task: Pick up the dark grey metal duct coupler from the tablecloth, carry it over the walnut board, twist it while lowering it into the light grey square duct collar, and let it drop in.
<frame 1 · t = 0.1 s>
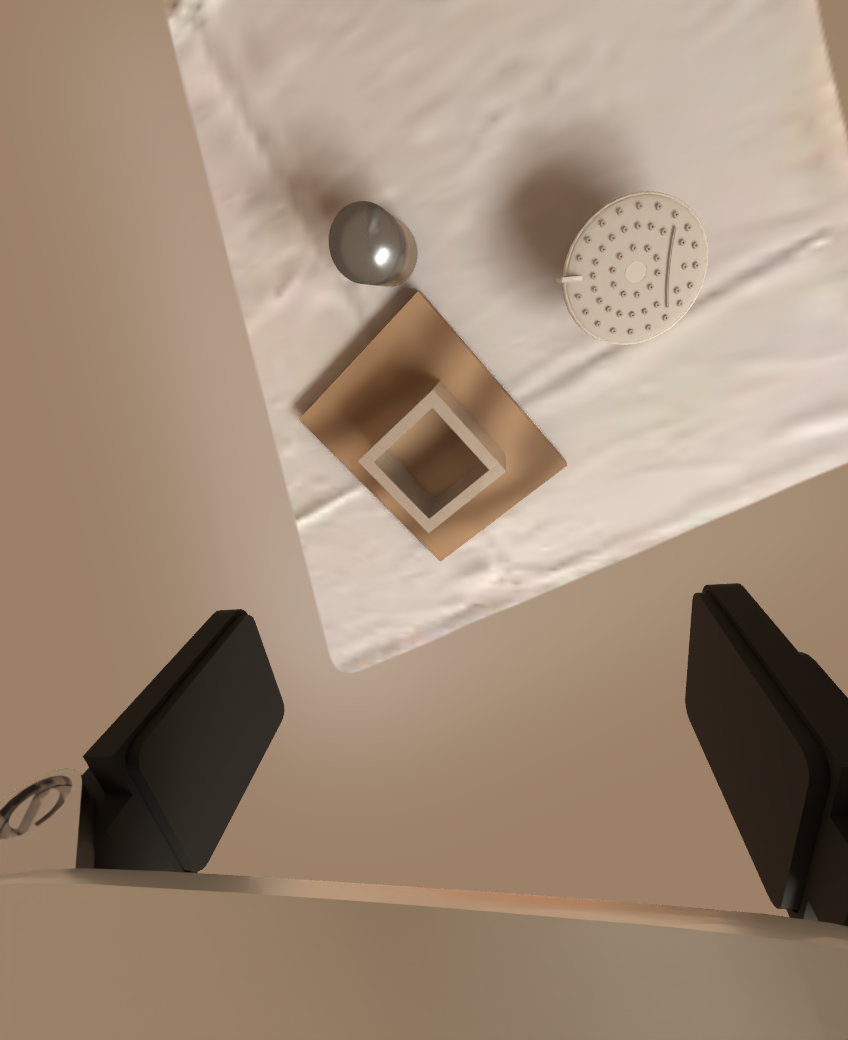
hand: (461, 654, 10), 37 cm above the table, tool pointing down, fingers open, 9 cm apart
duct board: (432, 437, 47), on the table
showerhead: (610, 276, 39), on the table
coupler: (388, 253, 41), on the table
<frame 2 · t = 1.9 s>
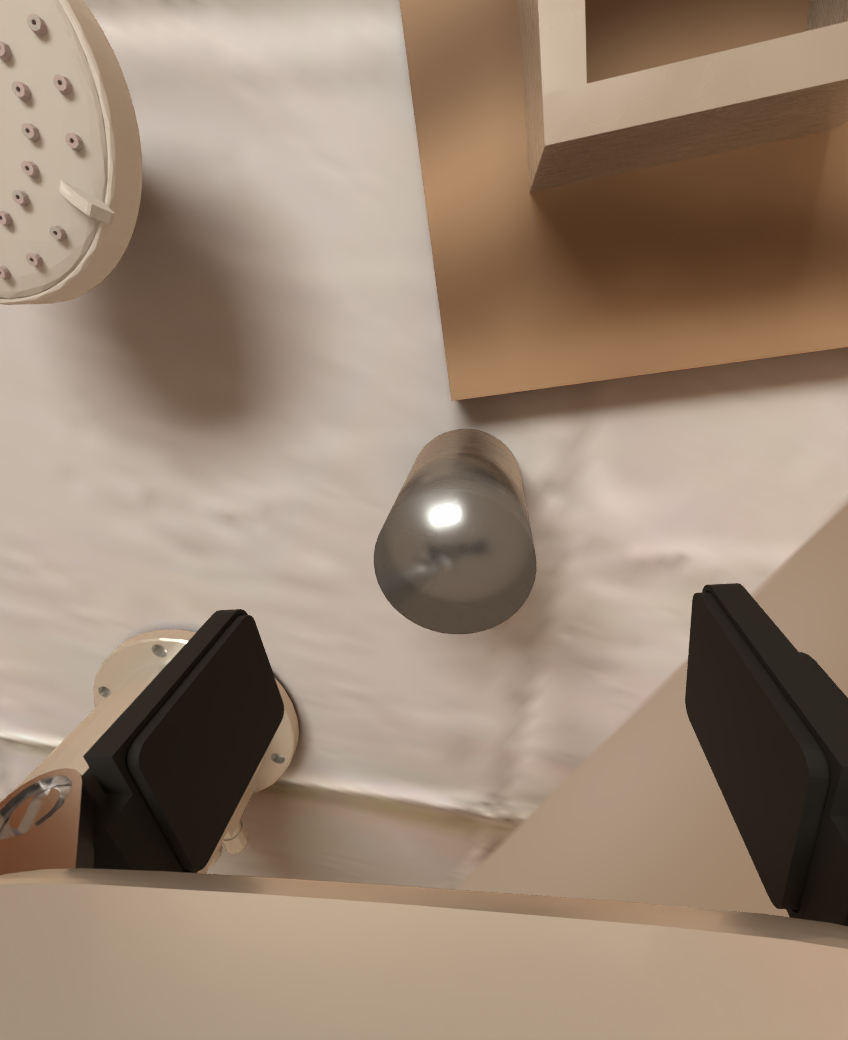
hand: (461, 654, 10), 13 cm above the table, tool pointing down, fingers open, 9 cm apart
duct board: (660, 45, 16), on the table
showerhead: (122, 180, 19), on the table
coupler: (465, 483, 22), on the table
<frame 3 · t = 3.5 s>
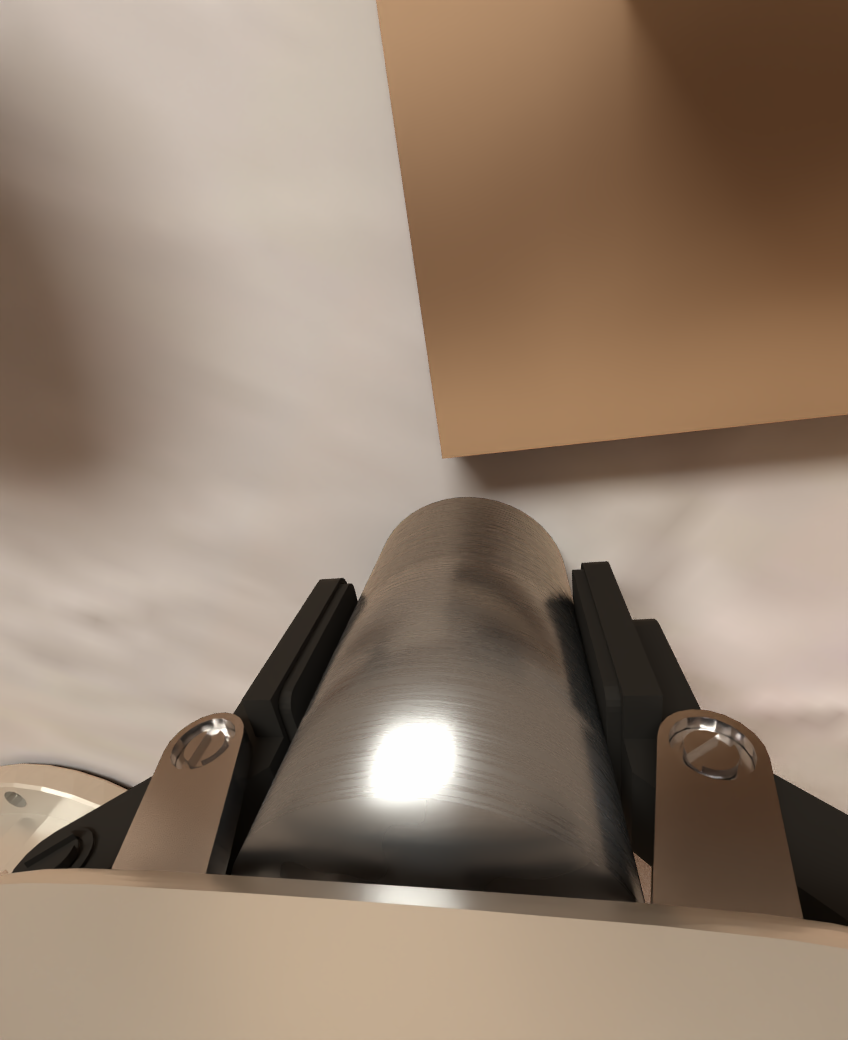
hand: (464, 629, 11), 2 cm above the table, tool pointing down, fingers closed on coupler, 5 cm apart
coupler: (469, 584, 13), on the table, touching gripper
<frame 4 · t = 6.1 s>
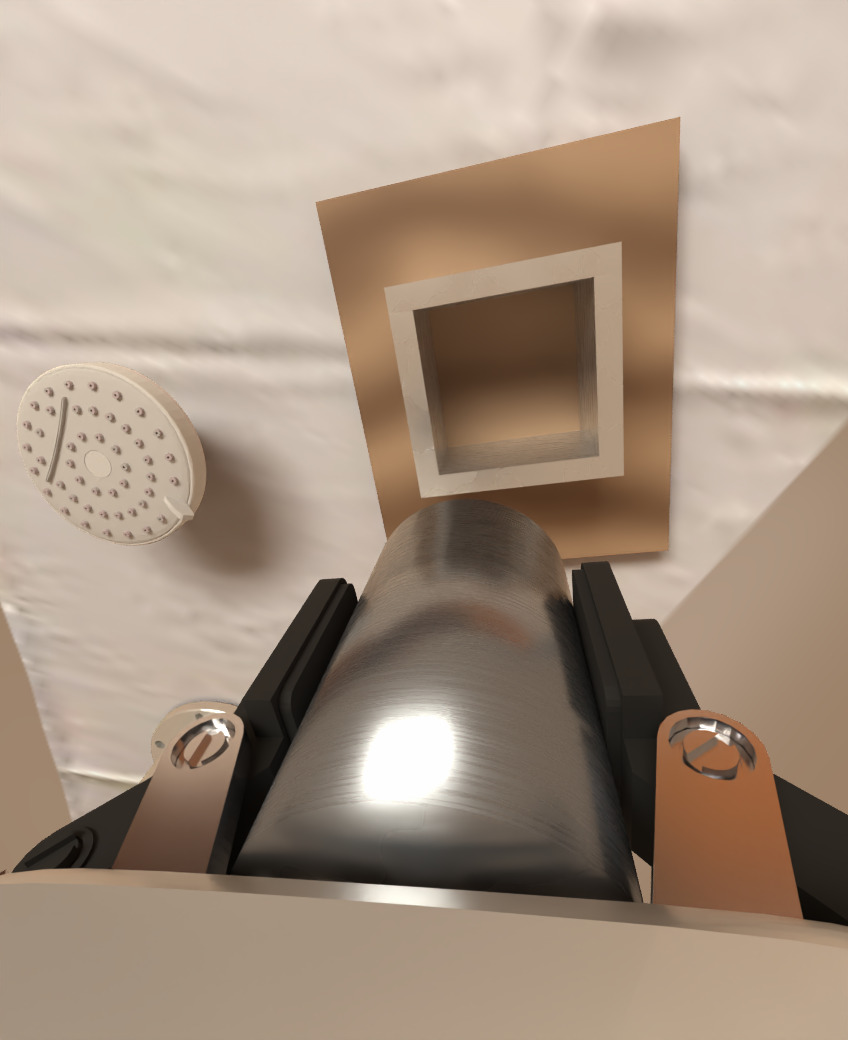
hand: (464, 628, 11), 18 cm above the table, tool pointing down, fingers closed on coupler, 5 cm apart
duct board: (506, 387, 26), on the table
showerhead: (183, 435, 30), on the table
coupler: (469, 585, 13), point 16 cm above the table, touching gripper
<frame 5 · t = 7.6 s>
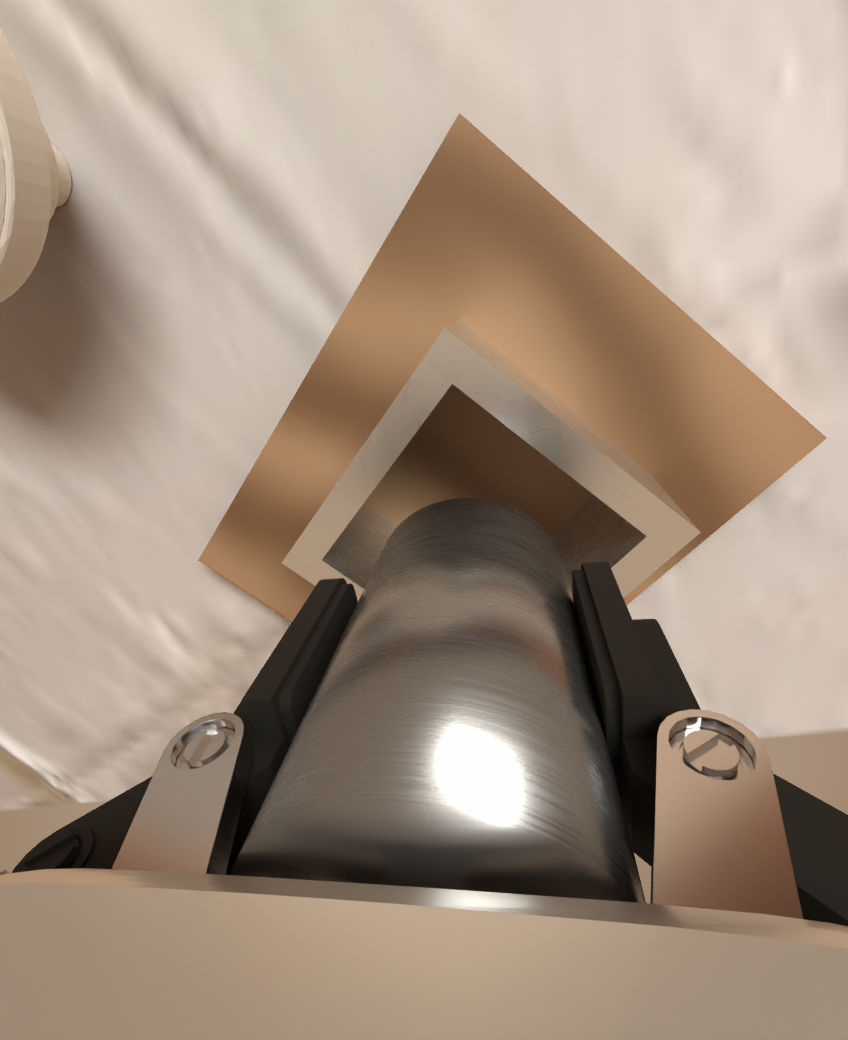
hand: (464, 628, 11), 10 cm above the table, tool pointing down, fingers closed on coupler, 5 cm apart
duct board: (466, 495, 21), on the table
showerhead: (53, 183, 18), on the table
coupler: (469, 584, 13), point 9 cm above the table, touching gripper
when the fingers open (8 cm above the table, at t = 8.9 s): coupler drops 4 cm, resting on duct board.
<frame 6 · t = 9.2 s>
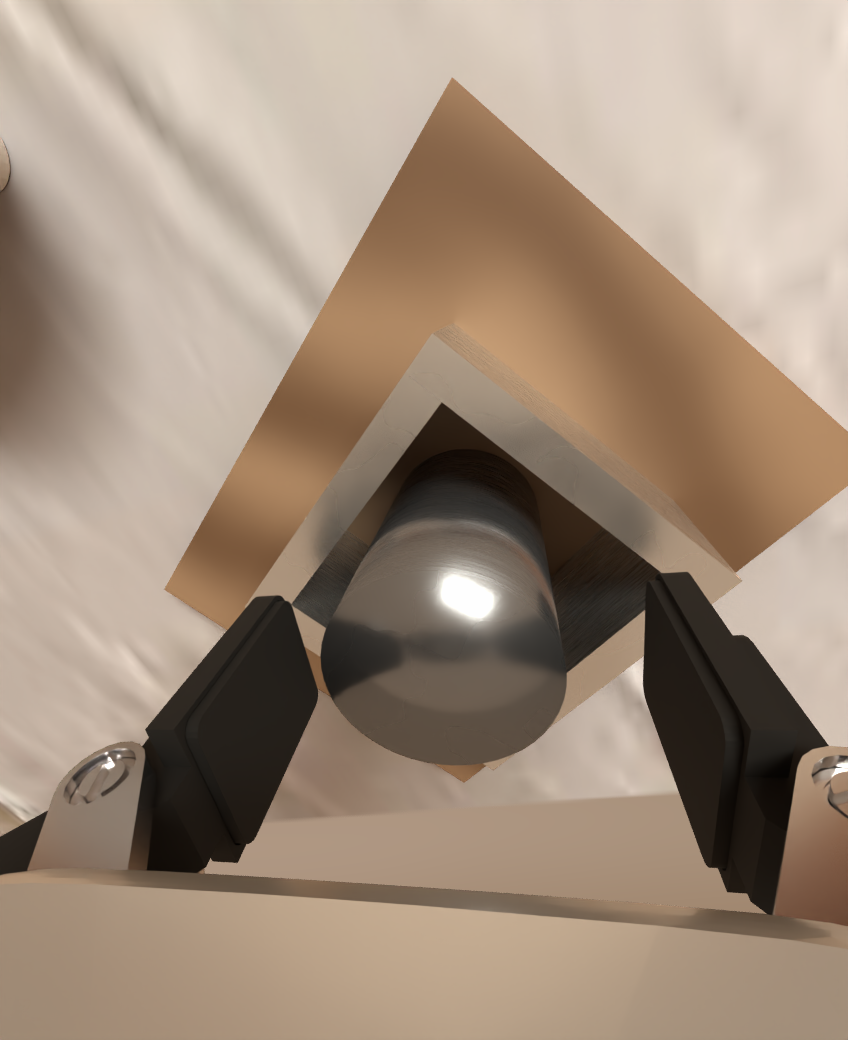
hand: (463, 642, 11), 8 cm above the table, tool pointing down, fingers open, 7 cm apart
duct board: (462, 519, 19), on the table
coupler: (465, 517, 17), point 1 cm above the table, touching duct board
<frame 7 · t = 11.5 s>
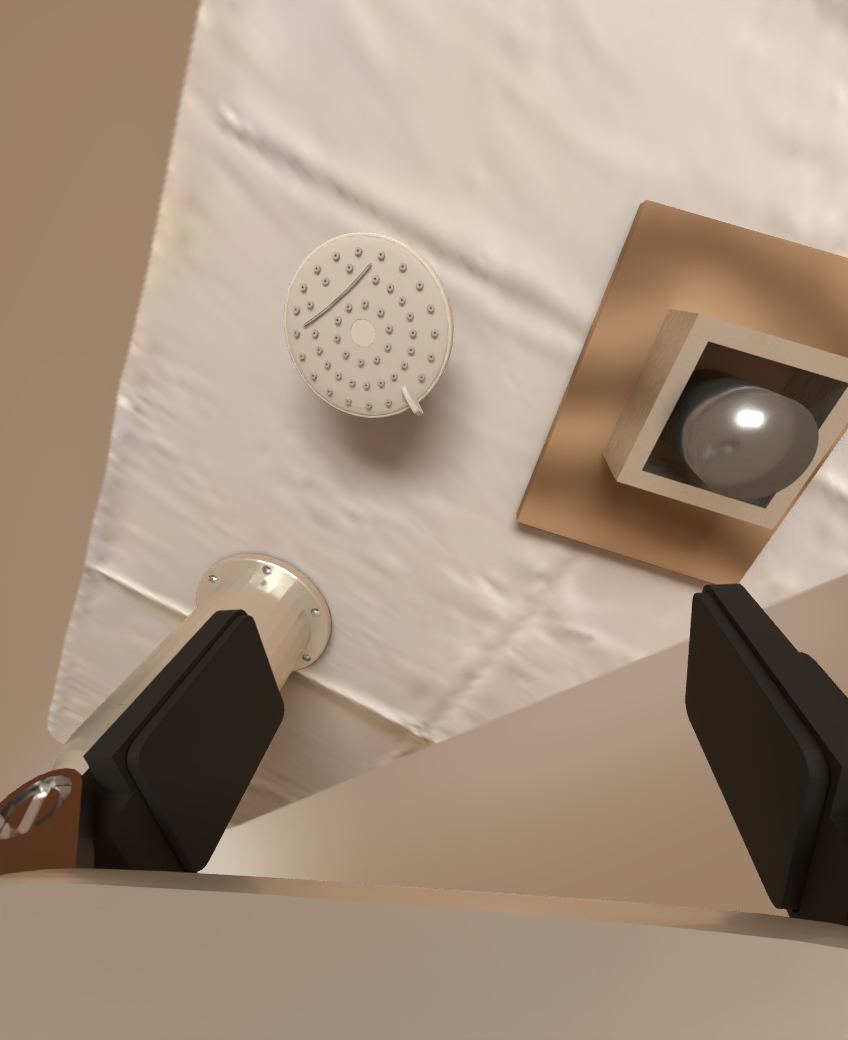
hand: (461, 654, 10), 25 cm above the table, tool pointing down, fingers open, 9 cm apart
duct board: (689, 417, 31), on the table
showerhead: (395, 327, 32), on the table
coupler: (698, 411, 30), point 2 cm above the table, touching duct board
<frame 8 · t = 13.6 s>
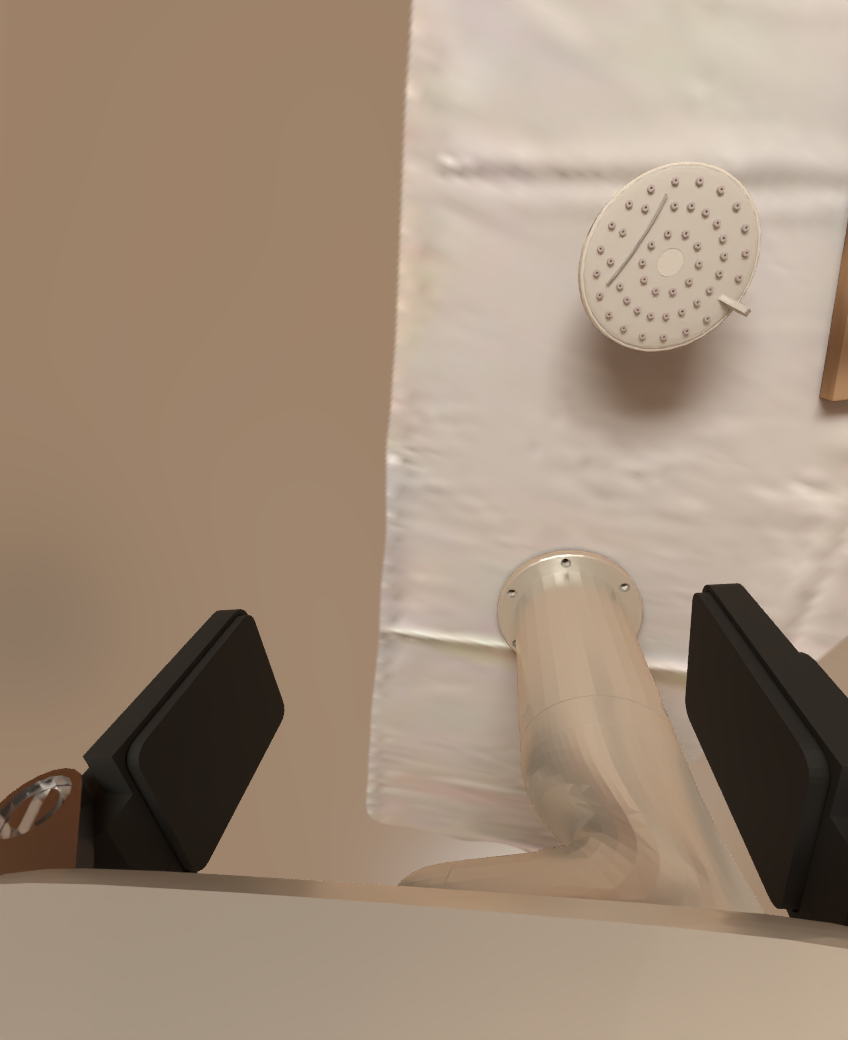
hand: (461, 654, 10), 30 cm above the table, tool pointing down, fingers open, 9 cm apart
showerhead: (641, 272, 33), on the table
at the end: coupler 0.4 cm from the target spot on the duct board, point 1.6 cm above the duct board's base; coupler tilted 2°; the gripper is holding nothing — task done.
